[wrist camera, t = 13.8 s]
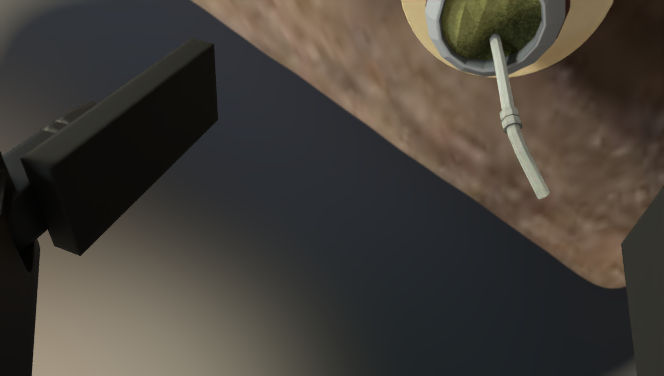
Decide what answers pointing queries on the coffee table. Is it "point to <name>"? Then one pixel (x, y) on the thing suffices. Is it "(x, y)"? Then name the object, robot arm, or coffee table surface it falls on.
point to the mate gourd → (498, 50)
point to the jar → (581, 22)
